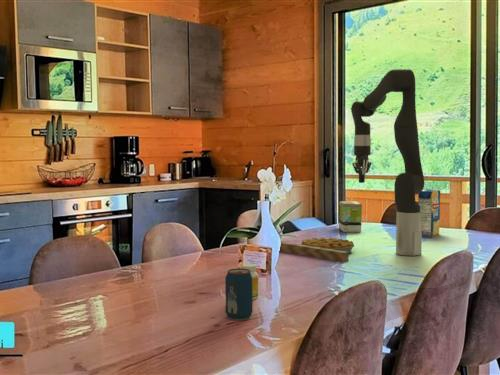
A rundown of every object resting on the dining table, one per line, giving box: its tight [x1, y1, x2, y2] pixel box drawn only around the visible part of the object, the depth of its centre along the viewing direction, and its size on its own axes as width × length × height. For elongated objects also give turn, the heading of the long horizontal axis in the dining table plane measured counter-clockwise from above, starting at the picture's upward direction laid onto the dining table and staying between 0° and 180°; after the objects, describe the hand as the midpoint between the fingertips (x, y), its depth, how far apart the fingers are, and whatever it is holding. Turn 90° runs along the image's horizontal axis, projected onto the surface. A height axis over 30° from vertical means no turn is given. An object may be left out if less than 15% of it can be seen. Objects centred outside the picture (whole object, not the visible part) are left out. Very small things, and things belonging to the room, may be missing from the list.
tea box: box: [338, 200, 363, 233], centre depth 299 cm, size 15×10×15 cm
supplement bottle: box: [241, 263, 259, 301], centre depth 165 cm, size 5×5×10 cm
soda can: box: [224, 267, 254, 321], centre depth 146 cm, size 7×7×12 cm
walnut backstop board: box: [279, 241, 349, 263], centre depth 230 cm, size 36×3×4 cm, turn 46°
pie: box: [300, 237, 355, 255], centre depth 239 cm, size 22×22×5 cm
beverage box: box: [417, 189, 441, 238], centre depth 283 cm, size 7×11×22 cm, turn 141°
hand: (361, 182), depth 264 cm, fingers closed
